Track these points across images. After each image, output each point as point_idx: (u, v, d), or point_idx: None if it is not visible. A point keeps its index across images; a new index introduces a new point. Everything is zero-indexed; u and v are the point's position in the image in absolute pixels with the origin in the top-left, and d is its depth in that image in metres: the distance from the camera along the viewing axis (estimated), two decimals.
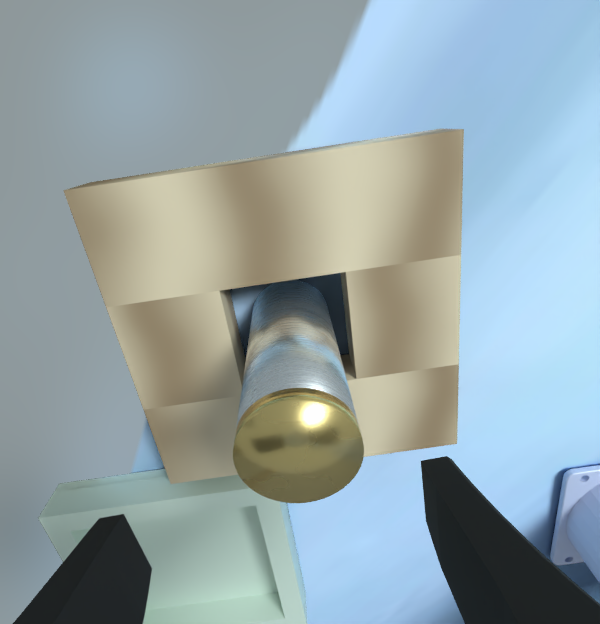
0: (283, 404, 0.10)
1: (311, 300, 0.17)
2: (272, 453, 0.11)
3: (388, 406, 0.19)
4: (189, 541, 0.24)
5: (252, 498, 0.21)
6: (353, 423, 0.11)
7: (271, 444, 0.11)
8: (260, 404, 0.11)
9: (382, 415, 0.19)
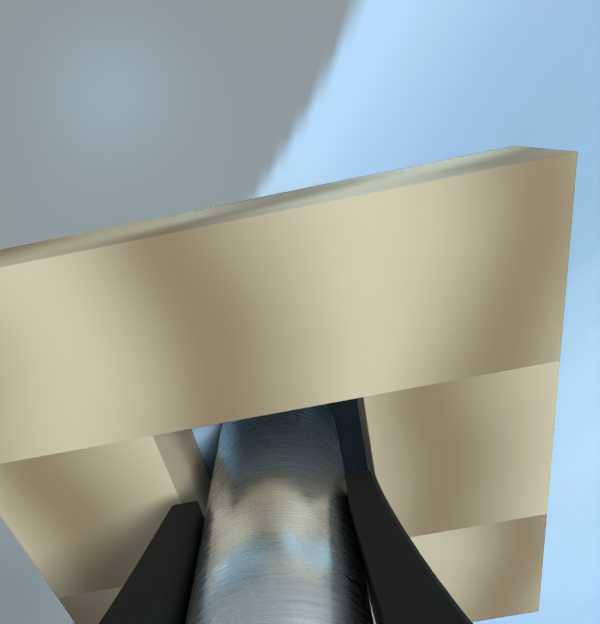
0: None
1: (308, 437, 0.10)
2: None
3: (436, 572, 0.12)
4: None
5: None
6: None
7: None
8: None
9: None
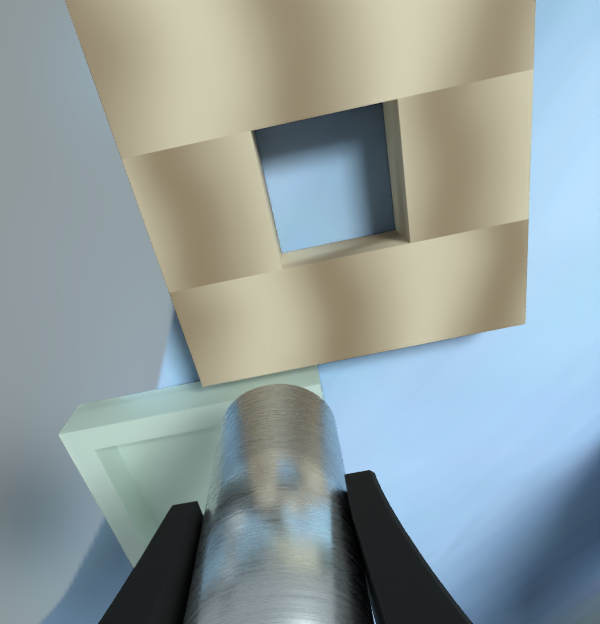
0: None
1: (309, 434, 0.10)
2: None
3: (447, 277, 0.17)
4: None
5: None
6: None
7: None
8: None
9: (440, 289, 0.17)
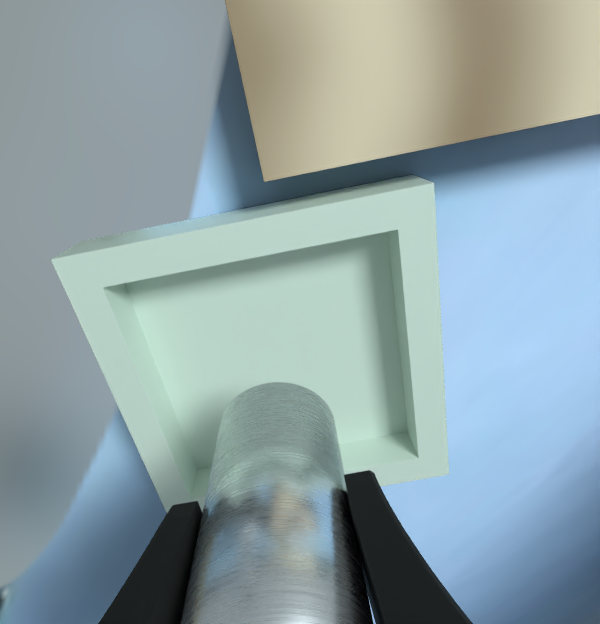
0: None
1: (310, 433, 0.10)
2: None
3: None
4: (276, 341, 0.16)
5: (393, 214, 0.13)
6: None
7: None
8: None
9: None
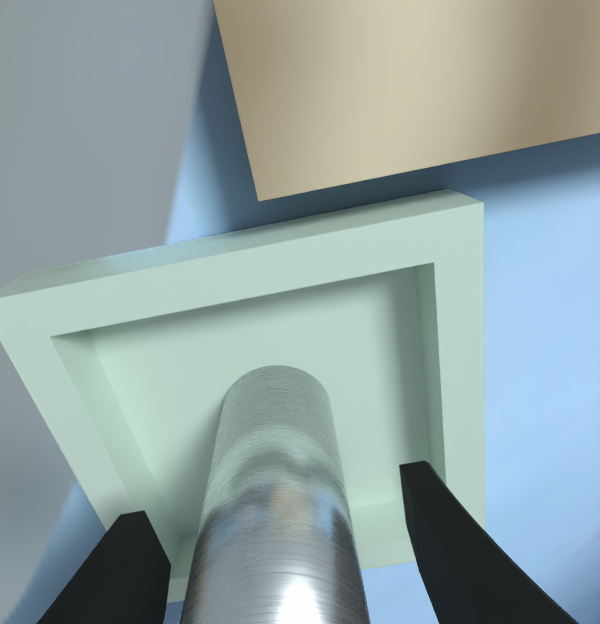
0: None
1: (306, 410, 0.11)
2: None
3: None
4: None
5: (429, 242, 0.10)
6: None
7: None
8: None
9: None
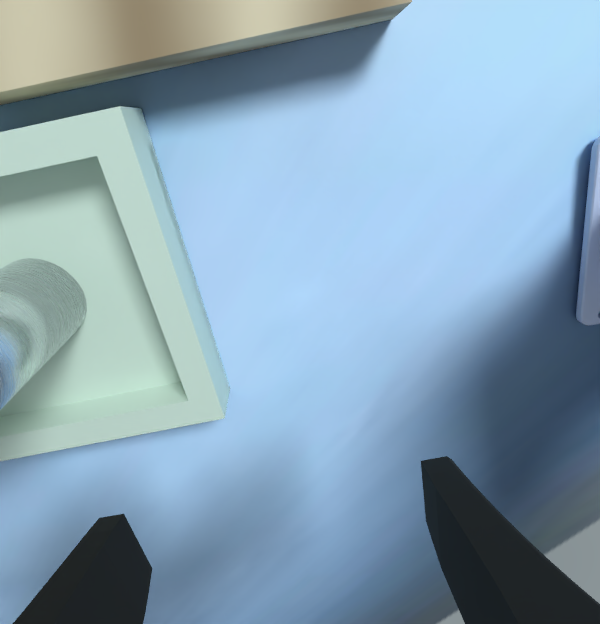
0: None
1: (24, 281, 0.14)
2: None
3: None
4: None
5: (87, 139, 0.13)
6: None
7: None
8: None
9: None
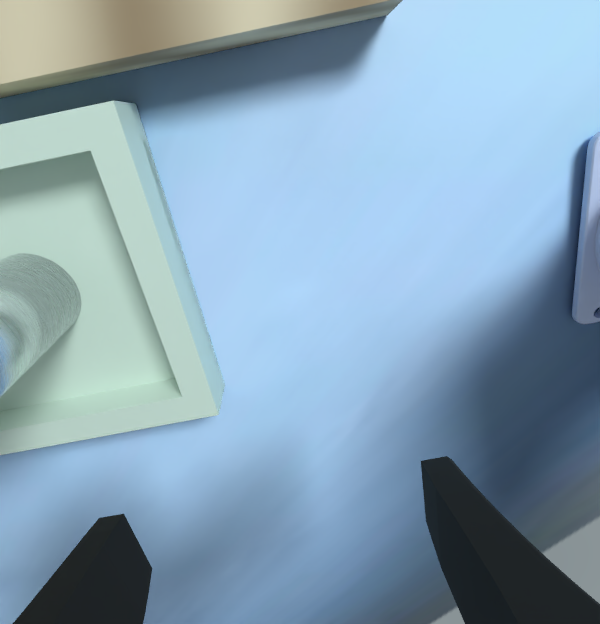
0: None
1: (18, 276, 0.14)
2: None
3: None
4: None
5: (81, 133, 0.13)
6: None
7: None
8: None
9: None
